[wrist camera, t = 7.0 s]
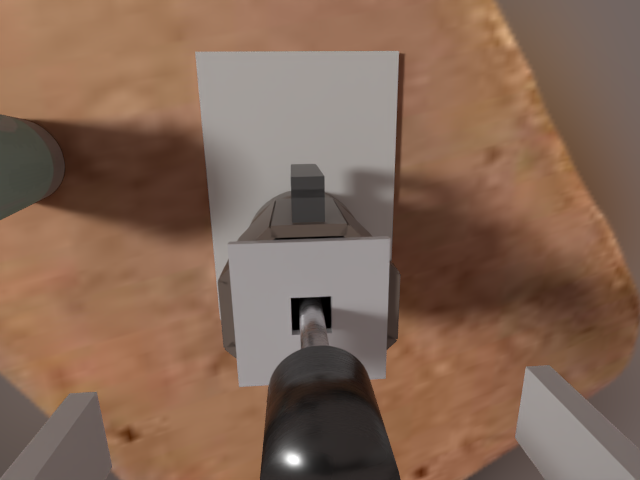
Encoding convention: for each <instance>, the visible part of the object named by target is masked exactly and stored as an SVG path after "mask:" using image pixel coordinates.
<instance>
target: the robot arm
mask: <svg viewBox="0 0 640 480" xmlns="http://www.w3.org/2000/svg"><path fill="white" fill-rule="evenodd" d="M515 438H516V440H517V441H518V443H519V444H520V445H521V447H522V448H523V450H524V451H525V452H526V454H527V455H528V456H529V458H530V459H531V461H532V462H533V463H534V465H535V466H536V468H537V469H538V470H539V472H540V473H541V475H542V476H543V477H544V479H545V480H640V450H639V448H637V447H636V446H635V445H634V444H633V443H632V442H631V441H630V440H629V439H628V438H626V436H625V435H624V434H622V433H621V432H620V431H619V430H618V429H617V428H616V427H615V426H614V425H613V424H612V423H611V422H609V421H608V420H607V419H606V418H605V417H604V416H603V415H602V414H601V413H600V412H599V411H598V410H597V409H595V407H593V406H592V405H591V404H590V403H589V402H588V401H587V400H586V399H585V398H584V397H583V396H582V395H581V394H579V393H578V392H577V391H576V390H575V389H574V388H573V387H572V386H571V385H570V384H569V383H568V382H567V381H566V380H564V379H563V378H562V377H561V376H560V375H559V374H558V373H557V372H556V371H555V370H554V369H553V368H552V367H550V366H549V365H547V366H530V367H526V371H525V377H524V383H523V390H522V396H521V403H520V409H519V416H518V422H517V429H516V435H515ZM111 468H112V464H111V459H110V454H109V449H108V444H107V439H106V435H105V430H104V425H103V420H102V415H101V410H100V406H99V401H98V396H97V392H86V393H70V394H69V395H68V396H67V397H66V398H65V400H64V401H63V402H62V403H61V405H60V406H59V407H58V408H57V410H56V411H55V412H54V413H53V414H52V416H51V417H50V418H49V419H48V421H47V422H46V423H45V425H44V426H43V427H42V428H41V429H40V431H39V432H38V433H37V434H36V436H35V437H34V438H33V439H32V440H31V441H30V443H29V444H28V445H27V446H26V448H25V449H24V450H23V451H22V453H21V454H20V455H19V456H18V457H17V459H16V460H15V461H14V463H13V464H12V465H11V466H10V467H9V468H8V470H7V471H6V472H5V474H4V475H3V476H2V477H1V478H0V480H105V479H106V477H107V475H108V473H109V471H110V470H111Z"/></svg>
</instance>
